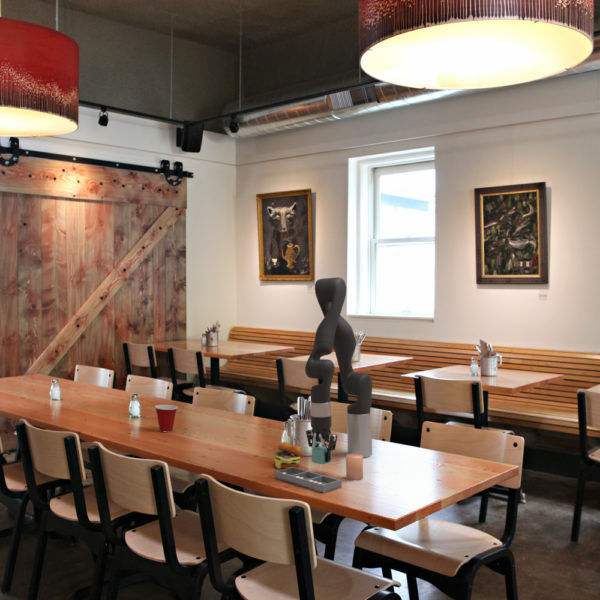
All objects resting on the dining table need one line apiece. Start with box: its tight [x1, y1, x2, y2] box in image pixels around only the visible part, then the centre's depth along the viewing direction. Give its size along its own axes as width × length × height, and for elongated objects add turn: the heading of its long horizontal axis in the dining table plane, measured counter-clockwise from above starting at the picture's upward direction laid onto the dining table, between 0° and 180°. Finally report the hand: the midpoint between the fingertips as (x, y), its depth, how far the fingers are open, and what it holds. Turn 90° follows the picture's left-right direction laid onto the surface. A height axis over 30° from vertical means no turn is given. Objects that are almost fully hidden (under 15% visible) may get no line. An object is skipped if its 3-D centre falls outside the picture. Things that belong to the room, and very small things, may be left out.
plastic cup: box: [154, 404, 179, 432], centre depth 325 cm, size 11×11×12 cm
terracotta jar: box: [345, 454, 364, 481], centre depth 245 cm, size 6×6×8 cm
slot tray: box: [274, 467, 343, 494], centre depth 239 cm, size 9×24×3 cm, turn 44°
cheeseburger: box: [273, 441, 303, 470], centre depth 262 cm, size 10×11×10 cm
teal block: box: [311, 445, 333, 465], centre depth 250 cm, size 5×5×5 cm
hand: (321, 460), depth 250 cm, fingers closed on teal block, 5 cm apart
